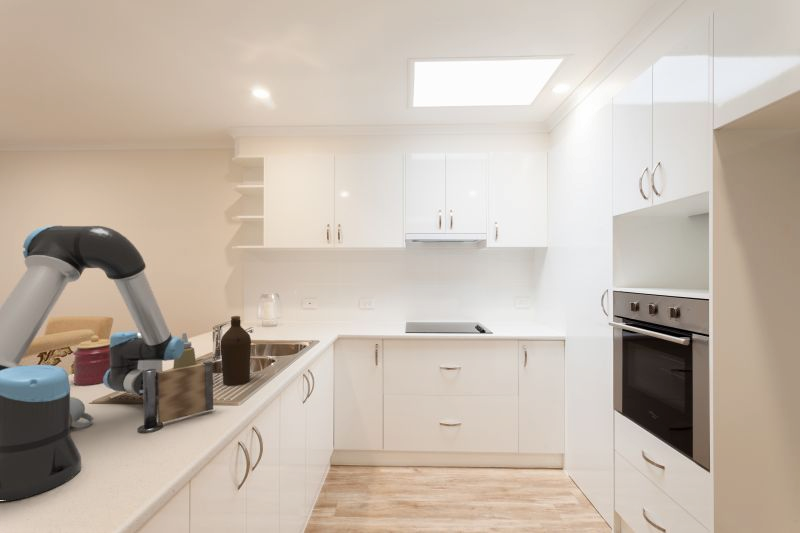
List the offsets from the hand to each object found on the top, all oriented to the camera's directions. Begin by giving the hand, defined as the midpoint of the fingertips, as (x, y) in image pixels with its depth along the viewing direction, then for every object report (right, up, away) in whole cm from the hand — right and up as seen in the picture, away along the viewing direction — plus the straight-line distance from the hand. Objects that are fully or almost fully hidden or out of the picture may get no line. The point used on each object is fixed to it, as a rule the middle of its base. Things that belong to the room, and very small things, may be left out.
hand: (197, 391), depth 113 cm
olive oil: (-1, -7, +30) cm, 31 cm away
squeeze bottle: (-23, -7, +34) cm, 41 cm away
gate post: (-8, -7, -10) cm, 14 cm away
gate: (-1, -6, -3) cm, 7 cm away
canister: (-58, -7, +33) cm, 67 cm away
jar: (-38, -7, +35) cm, 53 cm away
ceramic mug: (-31, -8, -8) cm, 33 cm away
